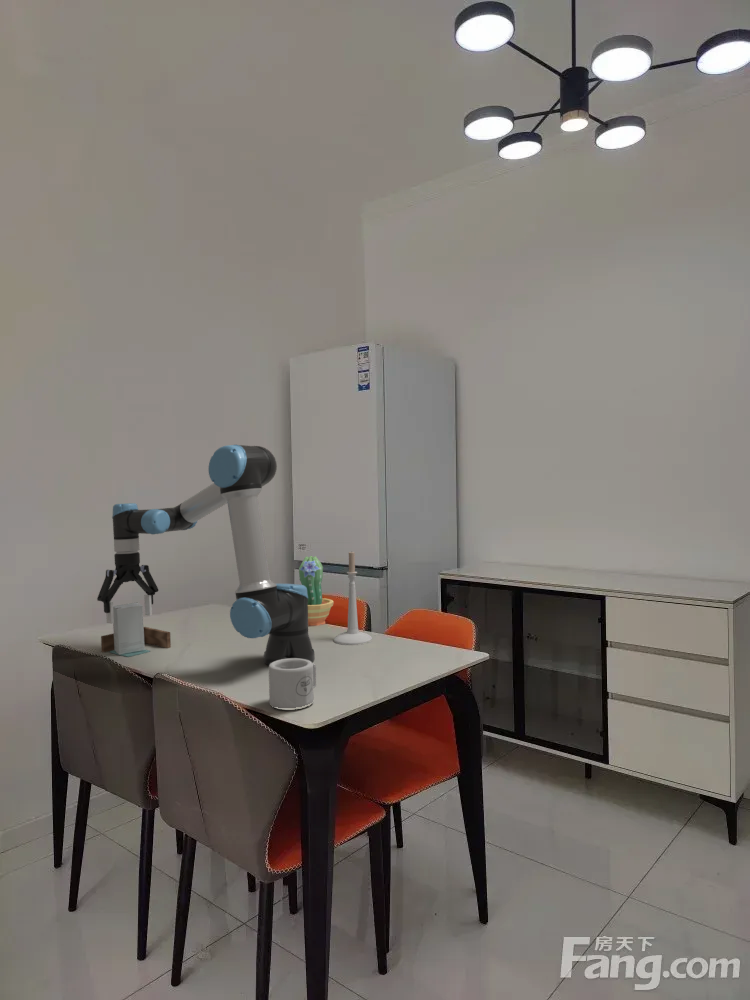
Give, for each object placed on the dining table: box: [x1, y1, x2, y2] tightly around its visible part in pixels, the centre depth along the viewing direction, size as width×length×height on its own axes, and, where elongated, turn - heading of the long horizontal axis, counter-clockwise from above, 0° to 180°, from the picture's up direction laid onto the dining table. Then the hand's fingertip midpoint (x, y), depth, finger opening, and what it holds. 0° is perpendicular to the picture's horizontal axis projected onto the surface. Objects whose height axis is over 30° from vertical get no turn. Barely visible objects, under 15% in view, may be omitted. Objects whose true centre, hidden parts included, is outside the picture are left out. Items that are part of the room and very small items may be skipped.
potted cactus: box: [298, 555, 335, 627], centre depth 258 cm, size 15×15×25 cm
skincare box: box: [112, 602, 146, 656], centre depth 219 cm, size 8×6×15 cm
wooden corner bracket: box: [100, 626, 172, 653], centre depth 223 cm, size 14×16×5 cm
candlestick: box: [333, 551, 373, 646], centre depth 231 cm, size 13×13×30 cm
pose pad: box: [109, 649, 151, 658], centre depth 220 cm, size 10×8×1 cm
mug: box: [268, 658, 317, 708], centre depth 170 cm, size 14×11×10 cm
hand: (129, 619), depth 219 cm, fingers open, 13 cm apart
